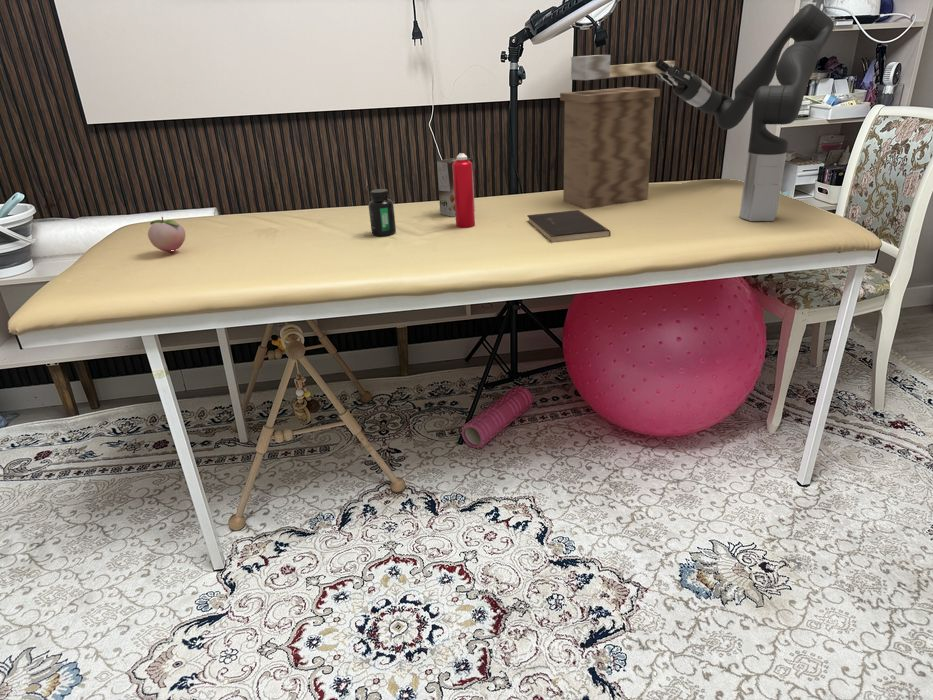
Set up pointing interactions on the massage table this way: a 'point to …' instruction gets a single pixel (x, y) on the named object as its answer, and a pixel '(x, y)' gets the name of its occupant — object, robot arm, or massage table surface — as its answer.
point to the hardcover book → (568, 226)
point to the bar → (608, 68)
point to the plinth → (607, 145)
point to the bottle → (463, 192)
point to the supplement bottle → (381, 213)
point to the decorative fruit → (166, 235)
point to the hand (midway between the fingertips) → (653, 62)
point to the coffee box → (447, 186)
